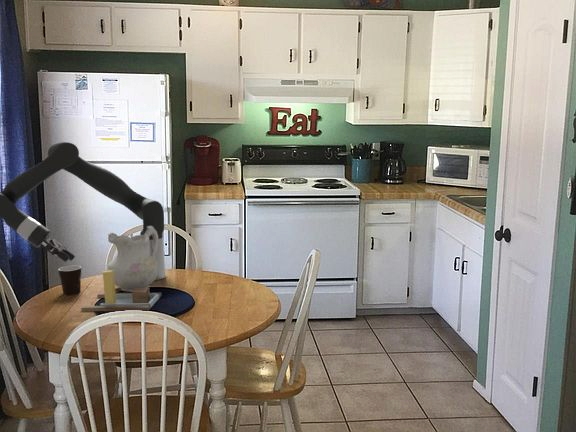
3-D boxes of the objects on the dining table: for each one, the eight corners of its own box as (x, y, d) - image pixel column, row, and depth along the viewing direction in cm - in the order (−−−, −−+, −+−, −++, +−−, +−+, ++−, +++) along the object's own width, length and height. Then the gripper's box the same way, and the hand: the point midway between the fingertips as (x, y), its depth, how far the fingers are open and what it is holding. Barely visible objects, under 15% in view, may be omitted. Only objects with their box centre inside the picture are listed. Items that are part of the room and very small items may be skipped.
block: (136, 300, 246) (135, 287, 246) (150, 300, 246) (149, 287, 245) (132, 305, 241) (131, 291, 241) (146, 305, 241) (145, 291, 240)
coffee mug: (76, 296, 259) (74, 271, 257) (56, 295, 260) (53, 270, 259) (91, 288, 270) (89, 263, 268) (71, 287, 272) (69, 263, 270)
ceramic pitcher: (139, 283, 279) (131, 224, 276) (175, 284, 269) (167, 223, 266) (101, 297, 261) (92, 234, 257) (138, 299, 251) (129, 234, 247)
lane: (99, 299, 254) (99, 292, 254) (161, 298, 252) (161, 292, 252) (81, 314, 237) (81, 307, 236) (148, 313, 235) (148, 307, 234)
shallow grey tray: (112, 300, 251) (110, 266, 249) (160, 300, 250) (157, 266, 248) (100, 311, 239) (97, 276, 236) (150, 311, 237) (147, 275, 235)
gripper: (34, 223, 233) (72, 251, 234) (45, 223, 247) (81, 250, 248) (21, 240, 232) (59, 268, 233) (32, 240, 246) (68, 266, 247)
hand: (70, 259), depth 241 cm, fingers open, 8 cm apart
